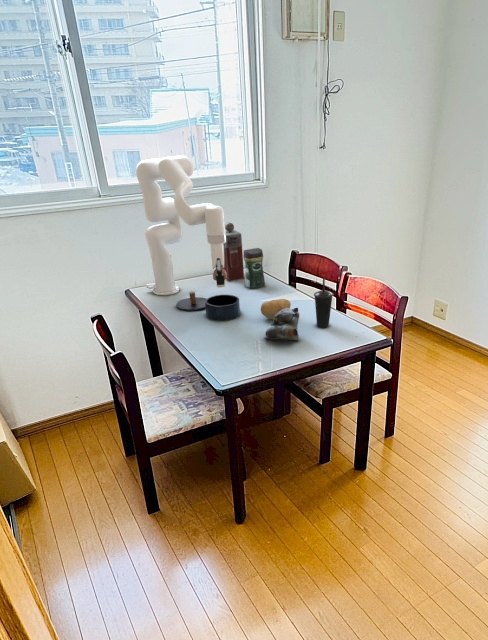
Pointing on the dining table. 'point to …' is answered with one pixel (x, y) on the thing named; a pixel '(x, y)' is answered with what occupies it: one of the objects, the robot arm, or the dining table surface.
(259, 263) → the coffee jar
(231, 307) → the pan
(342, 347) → the dining table surface
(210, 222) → the robot arm
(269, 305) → the potato
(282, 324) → the lucky cat figurine
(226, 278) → the mushroom
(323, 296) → the drinking cup
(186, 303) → the pan lid
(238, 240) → the vintage gas pump model
